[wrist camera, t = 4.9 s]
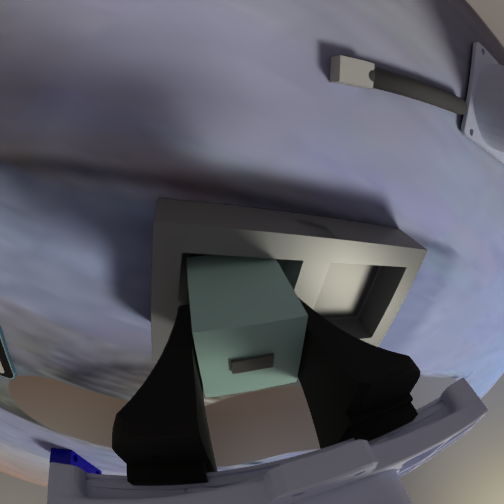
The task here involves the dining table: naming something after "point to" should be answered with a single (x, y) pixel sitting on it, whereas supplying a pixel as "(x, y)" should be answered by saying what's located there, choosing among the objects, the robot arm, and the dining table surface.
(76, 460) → the cable holder
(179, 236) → the grey piece
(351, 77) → the cable piece
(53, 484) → the robot arm
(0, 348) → the smartphone
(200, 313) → the block
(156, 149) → the dining table surface
